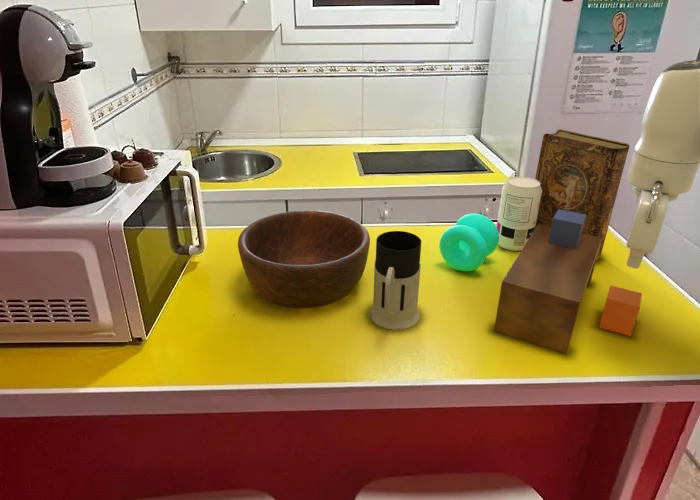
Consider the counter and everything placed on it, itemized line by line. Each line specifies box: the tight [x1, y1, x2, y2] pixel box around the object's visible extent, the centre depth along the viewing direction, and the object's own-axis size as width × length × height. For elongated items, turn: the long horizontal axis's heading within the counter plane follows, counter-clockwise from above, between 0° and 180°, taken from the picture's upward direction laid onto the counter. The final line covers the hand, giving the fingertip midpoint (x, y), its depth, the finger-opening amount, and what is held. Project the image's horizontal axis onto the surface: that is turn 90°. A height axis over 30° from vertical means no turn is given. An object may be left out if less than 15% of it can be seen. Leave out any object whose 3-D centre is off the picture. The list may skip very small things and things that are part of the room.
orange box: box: [598, 285, 643, 337], centre depth 90 cm, size 5×5×6 cm
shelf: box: [493, 224, 602, 355], centre depth 94 cm, size 12×26×10 cm, turn 150°
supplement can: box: [496, 175, 542, 252], centre depth 115 cm, size 8×8×15 cm
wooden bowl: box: [237, 210, 371, 309], centre depth 101 cm, size 25×25×10 cm
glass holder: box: [369, 230, 422, 331], centre depth 87 cm, size 9×14×15 cm, turn 166°
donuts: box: [439, 213, 499, 272], centre depth 108 cm, size 10×10×10 cm
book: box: [534, 128, 630, 263], centre depth 112 cm, size 16×6×25 cm, turn 41°
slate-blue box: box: [548, 209, 586, 249], centre depth 97 cm, size 5×5×5 cm
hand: (635, 253), depth 85 cm, fingers open, 8 cm apart
